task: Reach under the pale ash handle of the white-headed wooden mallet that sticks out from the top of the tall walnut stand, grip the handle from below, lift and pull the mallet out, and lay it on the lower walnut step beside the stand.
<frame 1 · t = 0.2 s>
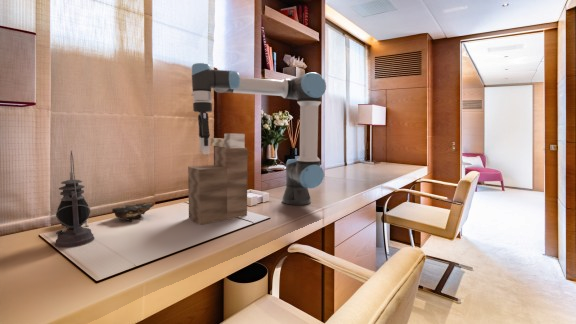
hand: (204, 153, 127), 28 cm above the table, fingers open, 13 cm apart
lantern: (75, 241, 98), on the table
stand: (218, 216, 129), on the table
bull figurine: (80, 226, 114), on the table
mallet: (225, 146, 134), point 30 cm above the table, touching stand
fossil rock: (134, 218, 125), on the table
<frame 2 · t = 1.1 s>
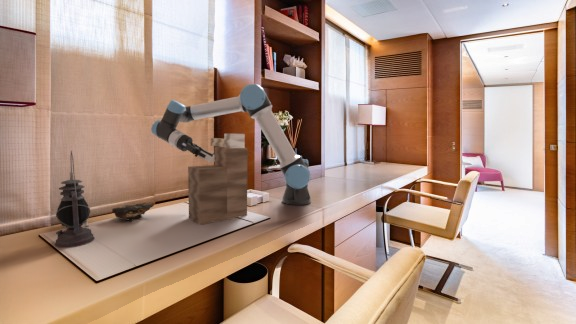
hand: (217, 162, 138), 23 cm above the table, fingers open, 13 cm apart
nothing on the table moved.
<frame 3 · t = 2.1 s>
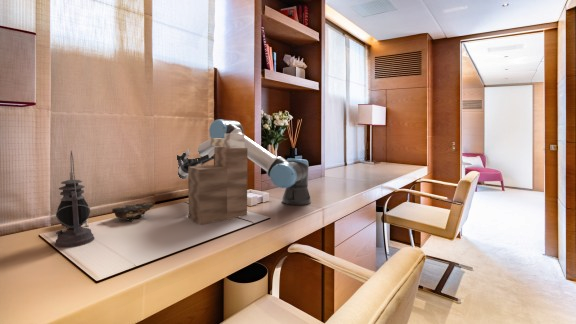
hand: (201, 150, 151), 27 cm above the table, fingers open, 13 cm apart
nothing on the table moved.
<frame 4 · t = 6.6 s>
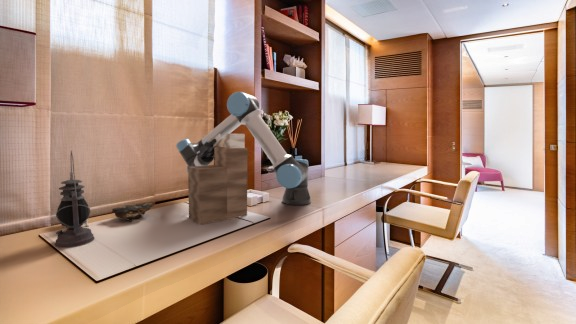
hand: (224, 136, 134), 35 cm above the table, fingers closed on mallet, 3 cm apart
mallet: (225, 146, 134), point 30 cm above the table, touching gripper, stand
everything else where it was.
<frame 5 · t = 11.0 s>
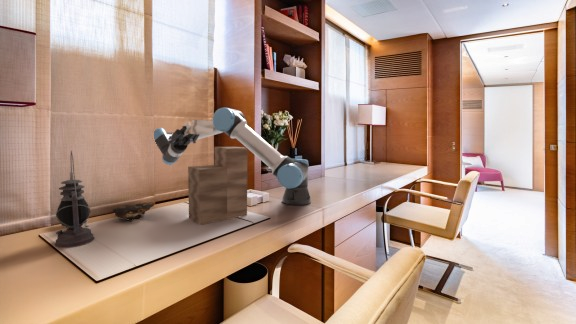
hand: (194, 123, 135), 40 cm above the table, fingers closed on mallet, 3 cm apart
mallet: (195, 133, 135), point 35 cm above the table, touching gripper
everything else where it was.
when the fingers open (27 cm above the table, at t = 15.6 s): mallet stays where it is, resting on stand.
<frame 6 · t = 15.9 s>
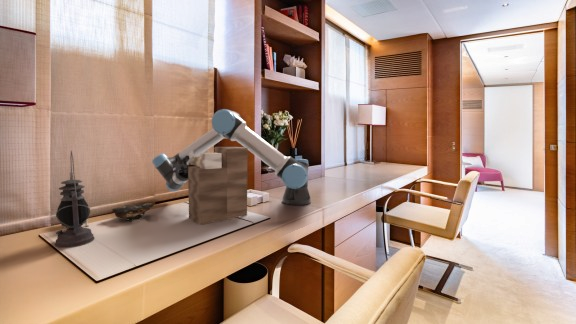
hand: (200, 153, 128), 27 cm above the table, fingers open, 7 cm apart
mallet: (202, 165, 127), point 22 cm above the table, touching stand
everything else where it was.
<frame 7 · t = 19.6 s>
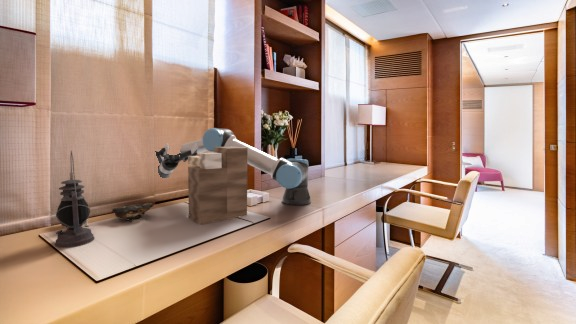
hand: (182, 145, 140), 30 cm above the table, fingers open, 13 cm apart
nothing on the table moved.
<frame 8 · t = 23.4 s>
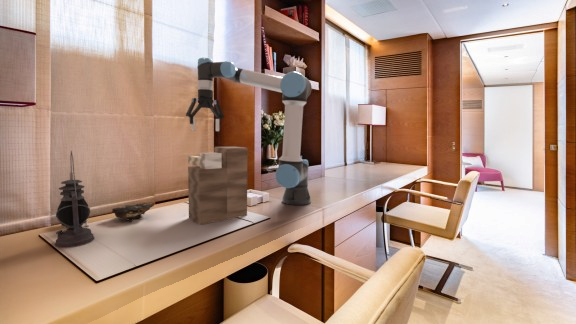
hand: (205, 131, 156), 37 cm above the table, fingers open, 13 cm apart
nothing on the table moved.
at the end: mallet inside the target area on the stand (0.0 cm from its centre), point 22.0 cm above the stand's base; mallet tilted 0°; the gripper is holding nothing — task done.
